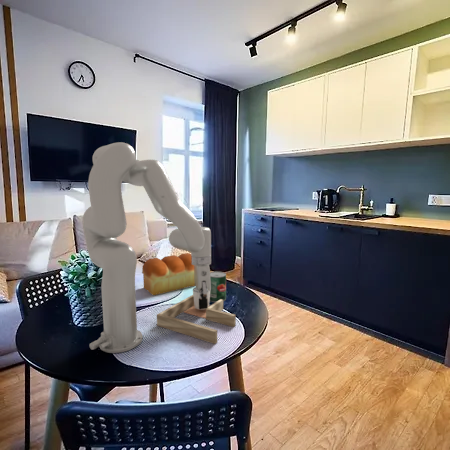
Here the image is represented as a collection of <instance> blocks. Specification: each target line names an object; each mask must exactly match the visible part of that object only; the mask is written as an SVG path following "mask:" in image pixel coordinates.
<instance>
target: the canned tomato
mask: <svg viewBox="0 0 450 450" xmlns="http://www.w3.org/2000/svg"><path fill="white" fill-rule="evenodd" d="M210 280H211V290H210V301H209V302H212V303H216V302H217V301H219V300H220V299H222V300H223V302H225V301H226V300H227V273H226V272H224V271H210Z"/></svg>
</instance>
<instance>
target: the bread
mask: <svg viewBox="0 0 450 450" xmlns="http://www.w3.org/2000/svg"><path fill="white" fill-rule="evenodd" d="M141 271H142V272H141V273H142V275H143V277H142V278H143V289H145V290H146V291H147V290H148V291H149V292H148V291H147V292H148V293H150V294H151V295H152V296H157V295H161V294H165V293H169V292H175V291H178V290H183V289H186V288H190V287H196V286H195V282H194V265H192V264H191V253H190V252H186V253H181V254H179V255H169V256H164V257H162V258H161V259H160V258H158V257H154V258H148V259H147V260H146V261H145V262H144V263H143V264H142V270H141Z"/></svg>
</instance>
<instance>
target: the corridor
mask: <svg viewBox="0 0 450 450" xmlns="http://www.w3.org/2000/svg"><path fill="white" fill-rule="evenodd" d="M192 306H194V297H193V294H192V295H190V296H188V297H186V298H184V299H183V300H181V301H178V302H177V303H176V304H174V305H172V306H170V307H167V308H166V309H164V310H162V311H161V312H159V313H157V314H156V325H157V326H156V327H160V328H164V329H166V330H170V331H173V332H175V333H179V334H183V335H185V336H188V337H192V338H195V339H198V340H202V341H204V342H207V343H210V344H213V345H216V344H217V343H218V329H215V328H211V327H207V326H204V325H201V324H198V323H194V322H191V321H187V320H183V319H180V318H176V317H177V316H179V315H181V314H184V311H186V310H187V309H189V308H191V307H192ZM223 310H224V301H223V300H222V299H220V300H219V301H217V302H213V303H212V304H211V306H210V307H208V308H207V309H206V319H205V320H207V321H210V322H214V323H218V324H221V325H225V326H228V327H232V328H235V327H236V324H237V323H236V322H237V321H236V320H237V319H236V316H237V315H236V314H234V313H230V312H227V311H223Z"/></svg>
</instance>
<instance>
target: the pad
mask: <svg viewBox="0 0 450 450" xmlns="http://www.w3.org/2000/svg"><path fill="white" fill-rule="evenodd" d="M211 305H212V304H211ZM211 305H210V304H209V307H210V306H211ZM183 314H187V315H189V316H190V315H191V316H194V317H198V318H202V319H205V320H206V309H196V308H195V306H192V307H191V308H189V309H187V310H186V311H184V312H183Z"/></svg>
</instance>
